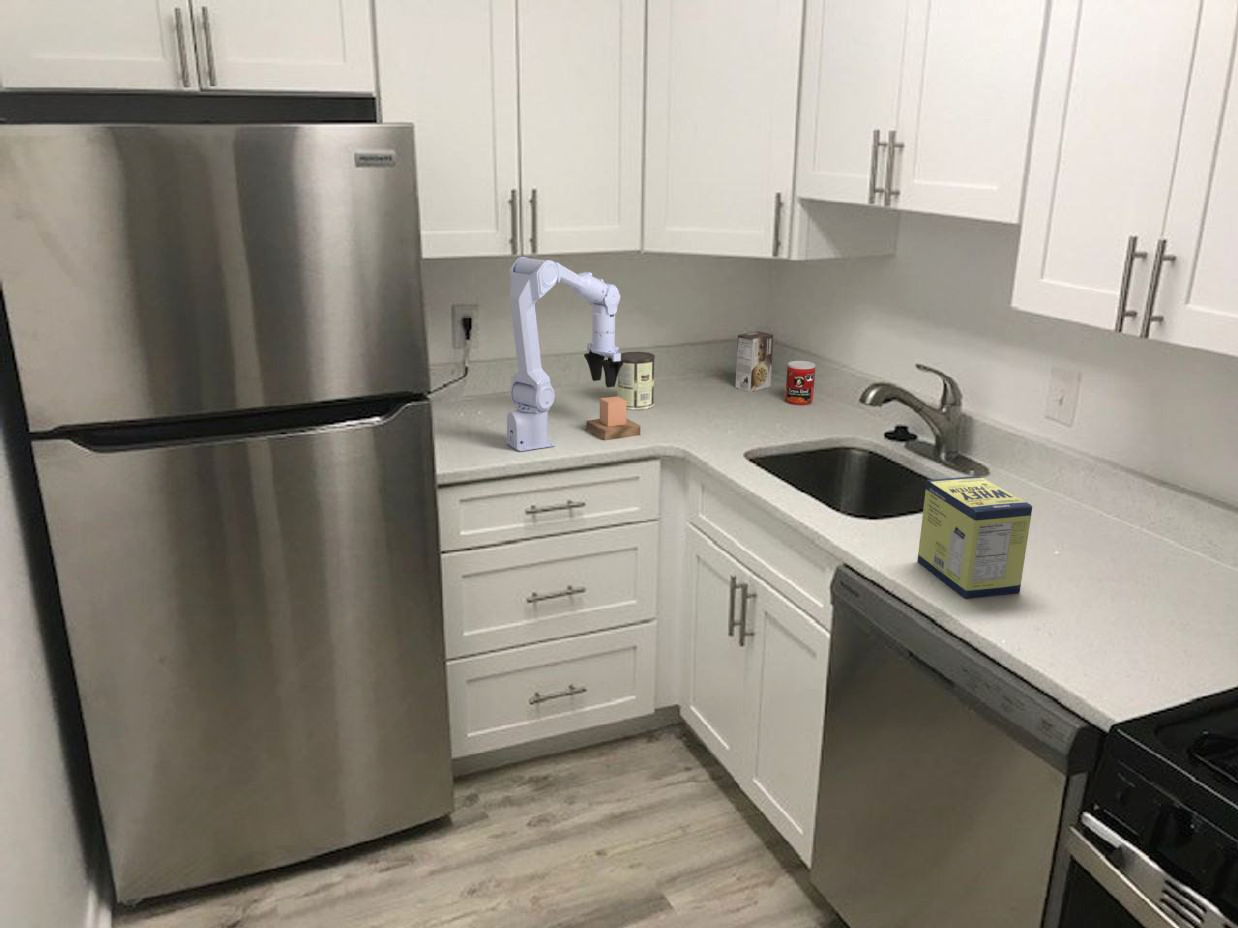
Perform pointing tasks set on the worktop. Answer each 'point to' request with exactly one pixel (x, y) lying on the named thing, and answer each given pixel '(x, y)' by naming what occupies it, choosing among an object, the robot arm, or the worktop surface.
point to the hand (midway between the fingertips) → (603, 383)
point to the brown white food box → (754, 361)
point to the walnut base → (612, 429)
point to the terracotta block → (613, 411)
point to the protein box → (974, 536)
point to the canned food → (800, 382)
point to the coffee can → (637, 380)
